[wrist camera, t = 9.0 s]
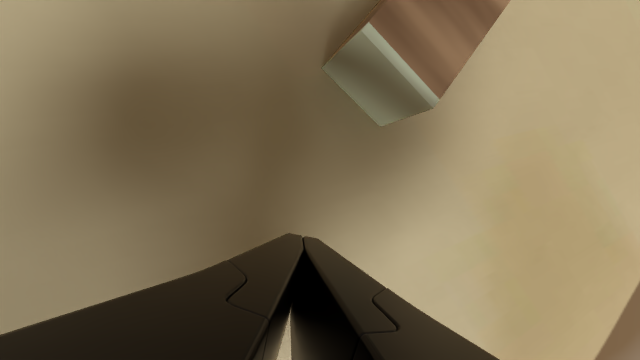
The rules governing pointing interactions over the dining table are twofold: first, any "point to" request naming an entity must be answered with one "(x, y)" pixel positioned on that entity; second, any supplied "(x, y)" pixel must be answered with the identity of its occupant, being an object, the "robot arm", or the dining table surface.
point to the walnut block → (409, 53)
